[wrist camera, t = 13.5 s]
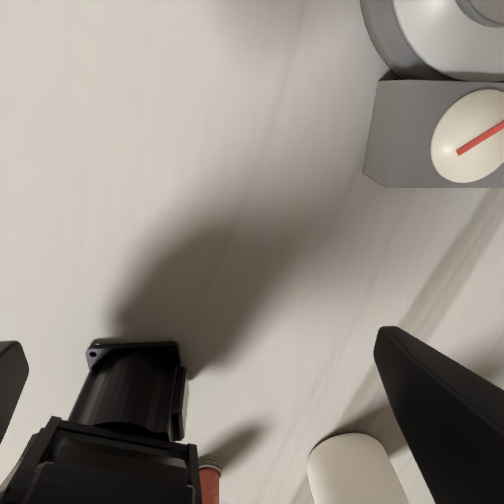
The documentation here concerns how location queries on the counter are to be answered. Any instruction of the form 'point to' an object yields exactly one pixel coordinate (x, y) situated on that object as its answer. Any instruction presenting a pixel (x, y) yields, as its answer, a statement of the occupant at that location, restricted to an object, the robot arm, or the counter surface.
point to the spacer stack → (484, 11)
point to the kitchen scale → (436, 97)
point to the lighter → (209, 479)
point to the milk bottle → (353, 472)
